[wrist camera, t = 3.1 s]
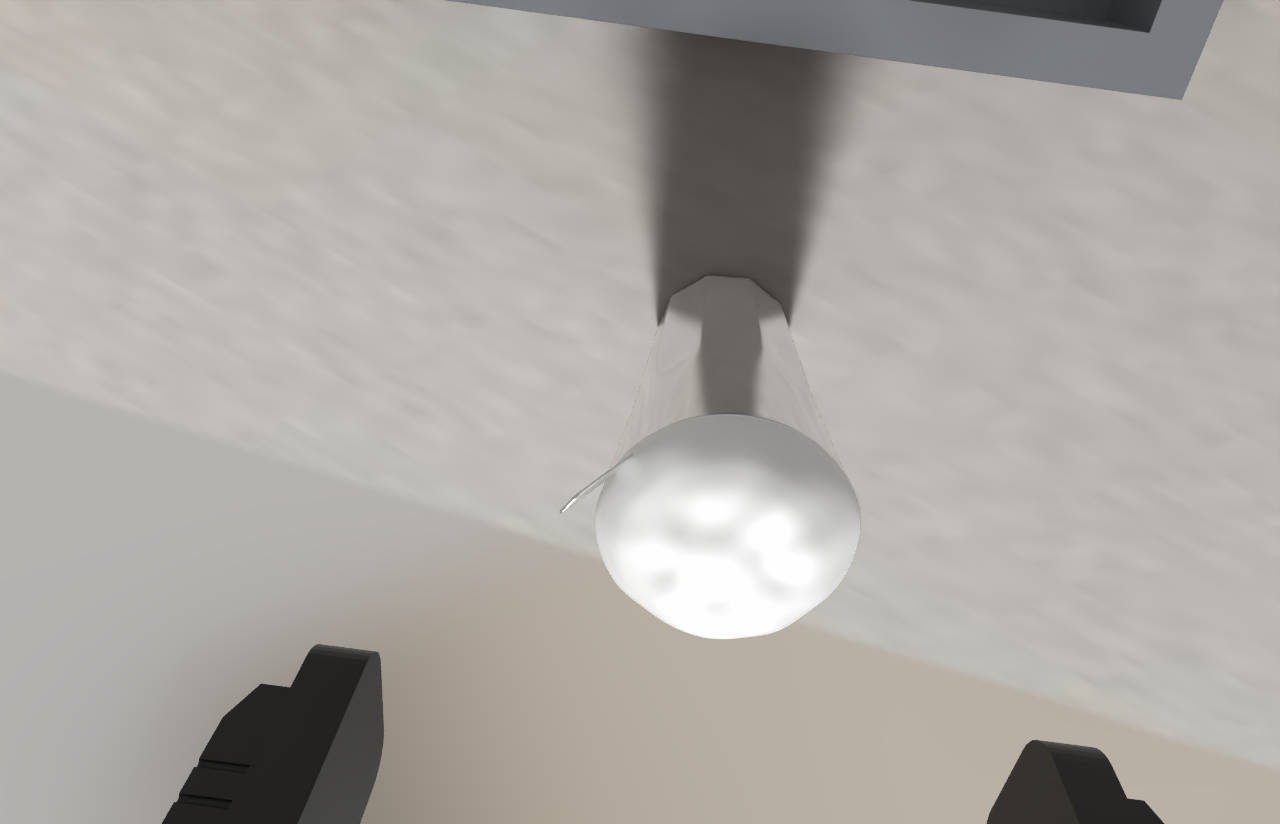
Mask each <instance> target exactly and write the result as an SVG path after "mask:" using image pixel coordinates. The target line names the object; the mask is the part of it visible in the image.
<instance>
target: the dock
mask: <svg viewBox="0 0 1280 824" xmlns="http://www.w3.org/2000/svg"><path fill="white" fill-rule="evenodd" d="M448 1H455V2H463V3H470V4H477V5H485V6H492V7H500V8H507V9H514V10H522V11H529V12H536V13H544V14H551V15H559V16H566V17H573V18H581V19H588V20H596V21H603V22H610V23H618V24H625V25H632V26H640V27H647V28H655V29H662V30H669V31H677V32H684V33H692V34H699V35H706V36H714V37H721V38H728V39H736V40H743V41H751V42H758V43H765V44H773V45H780V46H788V47H795V48H802V49H810V50H817V51H824V52H832V53H839V54H847V55H854V56H861V57H869V58H876V59H884V60H891V61H898V62H906V63H913V64H920V65H928V66H935V67H943V68H950V69H957V70H965V71H972V72H980V73H987V74H994V75H1002V76H1009V77H1016V78H1024V79H1031V80H1039V81H1046V82H1053V83H1061V84H1068V85H1076V86H1083V87H1090V88H1098V89H1105V90H1112V91H1120V92H1127V93H1135V94H1142V95H1149V96H1157V97H1164V98H1172V99H1179V100H1182V98H1183V96H1184V93H1185V91H1186V88H1187V86H1188V84H1189V81H1190V79H1191V76H1192V74H1193V72H1194V69H1195V67H1196V65H1197V62H1198V60H1199V57H1200V55H1201V53H1202V50H1203V48H1204V45H1205V43H1206V41H1207V38H1208V36H1209V33H1210V31H1211V29H1212V26H1213V24H1214V21H1215V19H1216V17H1217V14H1218V12H1219V9H1220V7H1221V5H1222V2H1223V0H448Z"/></svg>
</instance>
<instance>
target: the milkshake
mask: <svg viewBox="0 0 1280 824" xmlns="http://www.w3.org/2000/svg"><path fill="white" fill-rule="evenodd" d="M605 480H606V481H605ZM604 481H605V484H604V486H603V488H602V491H601V494H600V496H599V500H598V503H597V509H596V518H595V527H596V536H597V542H598V546H599V549H600V553H601V555H602V558H603V561H604V563H605V565H606V567H607V569H608V571H609V573H610V575H611V576H612V578H613V579H614V581H615V582H616V583H617V585H618V586H619V587H620V588H621V589H622V590H623V591H624V592H625V593H626V594H627V595H628V596H630V597H631V598H632V599H633V600H635V601H636V602H637V603H639V604H640V605H641V606H642V607H644V608H645V609H646V610H648V611H649V612H651V613H652V614H653V615H655V616H656V617H658V618H659V619H661V620H662V621H664V622H665V623H667V624H669V625H671V626H673V627H675V628H677V629H679V630H681V631H684V632H687V633H690V634H693V635H697V636H700V637H705V638H711V639H733V638H743V637H752V636H760V635H766V634H770V633H773V632H776V631H778V630H780V629H783V628H785V627H786V626H788V625H790V624H792V623H793V622H795V621H796V620H797V619H799V618H800V617H802V616H803V615H805V614H806V613H807V612H809V611H810V610H811V609H813V608H814V607H815V606H817V605H818V604H820V603H821V602H822V601H823V600H824V599H826V598H827V597H828V596H829V595H830V594H831V593H832V592H833V591H834V589H835V588H836V587H837V586H838V585H839V583H840V582H841V581H842V579H843V578H844V576H845V574H846V573H847V571H848V569H849V567H850V565H851V563H852V560H853V557H854V555H855V552H856V548H857V545H858V540H859V535H860V527H861V516H860V509H859V504H858V500H857V497H856V494H855V491H854V489H853V487H852V485H851V483H850V481H849V479H848V477H847V475H846V473H845V470H844V468H843V466H842V463H841V461H840V459H839V456H838V454H837V451H836V449H835V447H834V444H833V442H832V440H831V437H830V435H829V433H828V430H827V428H826V425H825V423H824V421H823V418H822V416H821V414H820V411H819V409H818V407H817V404H816V402H815V399H814V397H813V394H812V391H811V389H810V386H809V383H808V380H807V377H806V375H805V372H804V369H803V366H802V363H801V360H800V358H799V355H798V352H797V349H796V346H795V344H794V341H793V338H792V335H791V332H790V329H789V327H788V324H787V321H786V318H785V315H784V312H783V310H782V307H781V305H780V303H778V302H777V301H776V300H775V299H773V298H772V297H771V296H770V295H769V294H767V293H766V292H765V291H764V290H763V289H761V288H760V287H759V286H758V285H756V284H755V283H754V282H753V281H752V280H750V279H749V278H736V277H722V276H710V275H707V276H705V277H704V278H702V279H700V280H698V281H697V282H695V283H693V284H692V285H690V286H688V287H686V288H684V289H683V290H681V291H679V292H677V293H676V294H674V295H672V297H671V299H670V301H669V303H668V306H667V308H666V310H665V313H664V315H663V317H662V320H661V322H660V324H659V326H658V329H657V331H656V334H655V337H654V340H653V343H652V347H651V350H650V353H649V357H648V360H647V363H646V367H645V370H644V373H643V377H642V380H641V383H640V386H639V390H638V393H637V396H636V400H635V403H634V406H633V410H632V413H631V415H630V417H629V419H628V422H627V424H626V427H625V429H624V432H623V435H622V437H621V440H620V443H619V445H618V448H617V451H616V453H615V456H614V459H613V462H612V464H611V467H610V470H608V471H607V472H605V473H604V474H603V475H601V476H600V477H599V478H597V479H596V480H595V481H593V482H592V483H590V484H589V485H588V486H586V487H585V488H584V489H582V490H581V491H580V492H578V493H577V494H576V495H574V496H573V497H572V498H571V499H570V500H569V502H568V503H567V504H566V505H565V506H564V507H563V508H562V509H561V510H560V513H563V512H564V511H566V510H567V509H568V508H570V507H571V506H572V505H574V504H575V503H576V502H578V501H579V500H580V499H582V498H583V497H584V496H586V495H587V494H588V493H590V492H591V491H592V490H594V489H595V488H596V487H598V486H599V485H600V484H602V483H603V482H604Z"/></svg>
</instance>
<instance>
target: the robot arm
mask: <svg viewBox="0 0 1280 824" xmlns="http://www.w3.org/2000/svg"><path fill="white" fill-rule="evenodd" d="M383 739H384V724H383V701H382V679H381V661H380V656H379V653H378V652H374V651H367V650H359V649H352V648H344V647H336V646H328V645H321V644H317V645H315V646H314V647H313V648H312V649H311V650H310V651H309V653H308V655H307V656H306V658H305V660H304V662H303V664H302V666H301V668H300V670H299V672H298V674H297V676H296V678H295V680H294V682H293V684H292V685H291V687H290V688H289V687H282V686H274V685H266V684H260V685H259V686H258V687H257V688H256V689H255V690H253V691H252V692H251V693H250V694H249V695H248V696H247V697H246V698H244V699H243V700H242V701H241V702H240V703H239V704H237V705H236V706H235V707H234V708H233V709H232V710H231V711H230V712H228V713H227V714H226V715H225V716H224V717H223V718H222V720H221V722H220V723H219V725H218V727H217V729H216V731H215V732H214V734H213V735H212V737H211V739H210V741H209V742H208V744H207V746H206V748H205V750H204V751H203V753H202V755H201V756H200V758H199V764H198V766H197V767H194V768H193V770H192V772H191V774H190V775H189V777H188V779H187V781H186V783H185V784H184V786H183V788H182V789H181V791H180V793H179V799H178V801H177V802H174V803H173V805H172V807H171V808H170V810H169V812H168V814H167V815H166V817H165V819H164V821H163V822H162V824H360V822H361V819H362V817H363V814H364V811H365V808H366V805H367V803H368V800H369V797H370V794H371V792H372V789H373V786H374V783H375V780H376V776H377V773H378V769H379V765H380V759H381V755H382V748H383ZM987 824H1164V823H1163V822H1162V821H1161V819H1160V818H1159V817H1158V816H1157V815H1156V814H1155V813H1154V812H1153V810H1152V809H1151V808H1150V807H1149V806H1148V805H1147V804H1146V803H1145V801H1141V800H1134V799H1127V797H1126V795H1125V793H1124V791H1123V789H1122V786H1121V784H1120V782H1119V780H1118V778H1117V776H1116V774H1115V772H1114V770H1113V767H1112V765H1111V763H1110V762H1109V760H1108V758H1107V757H1106V756H1105V754H1103V753H1102V752H1101V751H1100V750H1098V749H1097V748H1093V747H1085V746H1078V745H1070V744H1063V743H1055V742H1047V741H1039V740H1032V741H1030V742H1029V743H1028V744H1027V745H1026V746H1025V748H1024V749H1023V751H1022V753H1021V755H1020V757H1019V759H1018V760H1017V763H1016V764H1015V766H1014V768H1013V770H1012V772H1011V774H1010V776H1009V777H1008V779H1007V781H1006V783H1005V785H1004V787H1003V789H1002V791H1001V793H1000V794H999V796H998V798H997V800H996V802H995V804H994V806H993V807H992V809H991V811H990V814H989V817H988V820H987Z"/></svg>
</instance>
